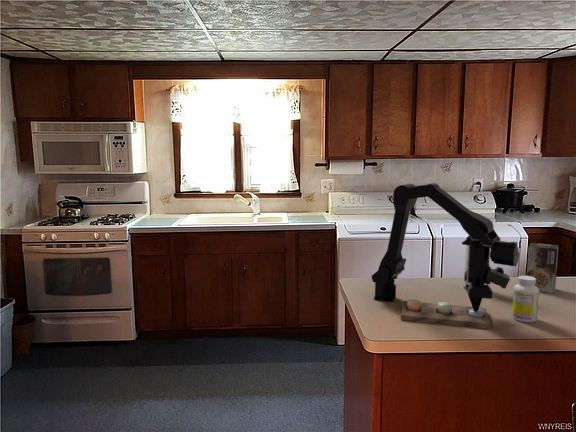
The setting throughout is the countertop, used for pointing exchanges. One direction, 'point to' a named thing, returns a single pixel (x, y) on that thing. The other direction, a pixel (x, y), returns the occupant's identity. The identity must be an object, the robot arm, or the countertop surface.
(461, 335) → the countertop surface
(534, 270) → the coffee box
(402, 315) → the button panel
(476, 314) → the slate button
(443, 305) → the sage button
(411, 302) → the terracotta button
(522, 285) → the supplement bottle
